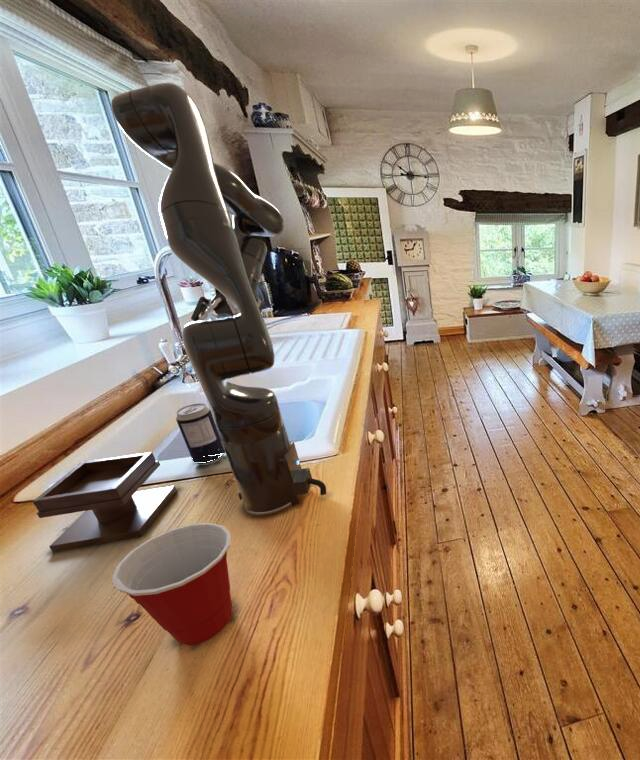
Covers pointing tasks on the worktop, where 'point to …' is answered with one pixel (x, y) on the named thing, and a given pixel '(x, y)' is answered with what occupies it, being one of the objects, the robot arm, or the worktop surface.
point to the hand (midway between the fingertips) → (218, 340)
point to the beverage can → (200, 433)
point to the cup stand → (105, 500)
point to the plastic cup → (181, 580)
